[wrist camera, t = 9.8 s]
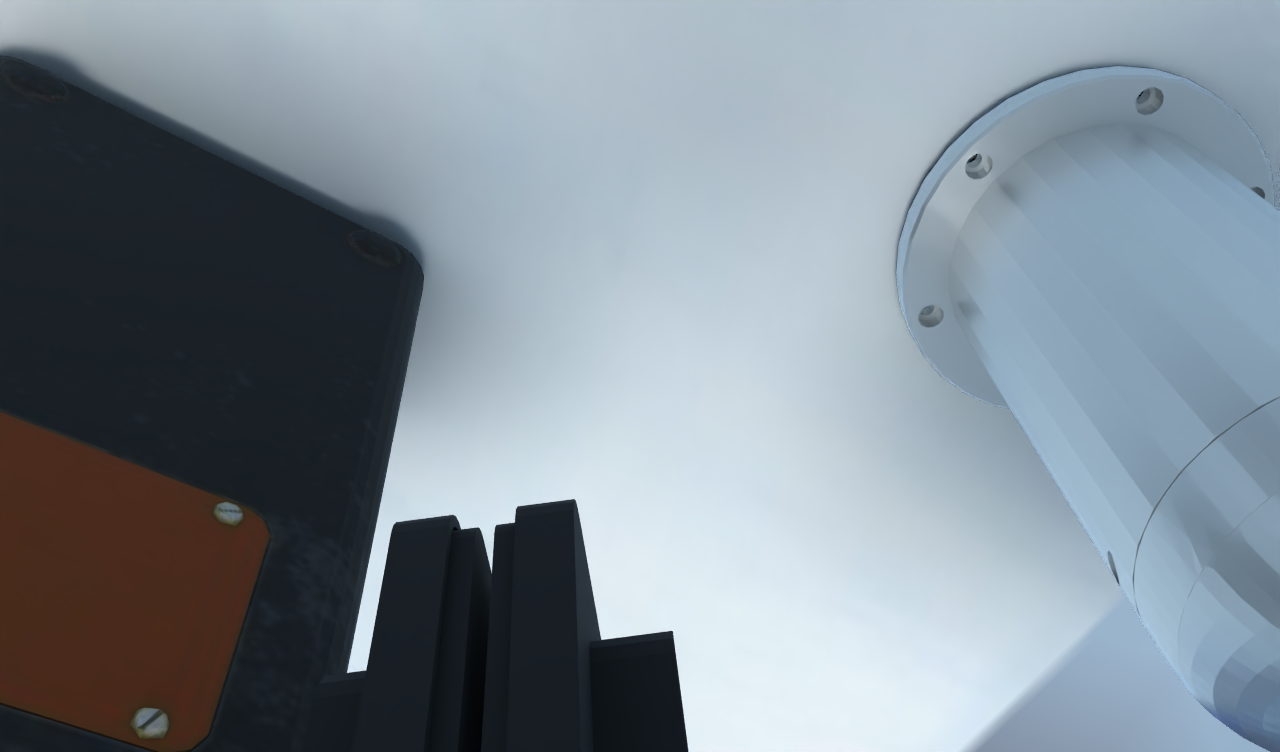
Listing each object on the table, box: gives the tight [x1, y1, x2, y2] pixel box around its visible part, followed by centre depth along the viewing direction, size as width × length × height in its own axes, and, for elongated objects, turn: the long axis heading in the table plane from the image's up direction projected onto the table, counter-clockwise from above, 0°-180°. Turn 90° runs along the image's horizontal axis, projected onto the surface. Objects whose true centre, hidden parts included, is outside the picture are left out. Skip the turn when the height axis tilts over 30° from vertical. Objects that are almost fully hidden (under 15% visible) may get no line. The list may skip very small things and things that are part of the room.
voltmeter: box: [0, 56, 424, 752], centre depth 27 cm, size 16×9×25 cm, turn 58°
